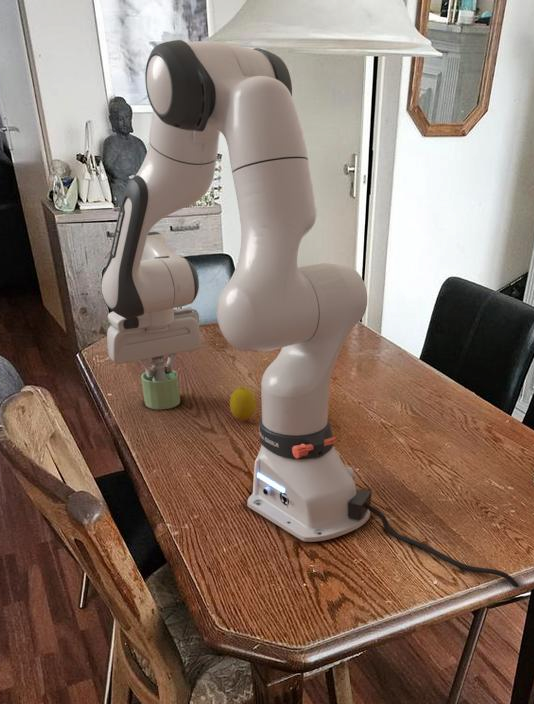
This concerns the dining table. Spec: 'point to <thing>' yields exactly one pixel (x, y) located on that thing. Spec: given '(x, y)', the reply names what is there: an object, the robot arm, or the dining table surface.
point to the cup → (161, 391)
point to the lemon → (242, 403)
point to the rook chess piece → (159, 369)
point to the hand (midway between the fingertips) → (159, 374)
